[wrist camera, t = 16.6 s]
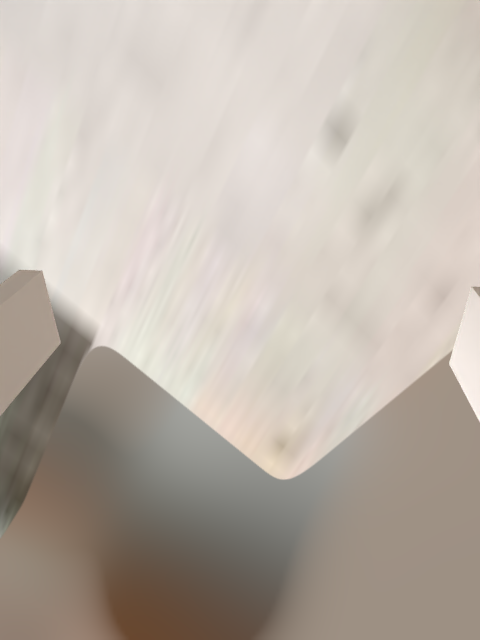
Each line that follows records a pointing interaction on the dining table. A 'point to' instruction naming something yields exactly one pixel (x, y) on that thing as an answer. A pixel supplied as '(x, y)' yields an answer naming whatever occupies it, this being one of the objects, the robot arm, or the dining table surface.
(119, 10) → the dining table surface
